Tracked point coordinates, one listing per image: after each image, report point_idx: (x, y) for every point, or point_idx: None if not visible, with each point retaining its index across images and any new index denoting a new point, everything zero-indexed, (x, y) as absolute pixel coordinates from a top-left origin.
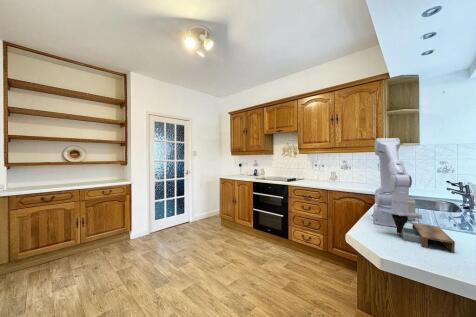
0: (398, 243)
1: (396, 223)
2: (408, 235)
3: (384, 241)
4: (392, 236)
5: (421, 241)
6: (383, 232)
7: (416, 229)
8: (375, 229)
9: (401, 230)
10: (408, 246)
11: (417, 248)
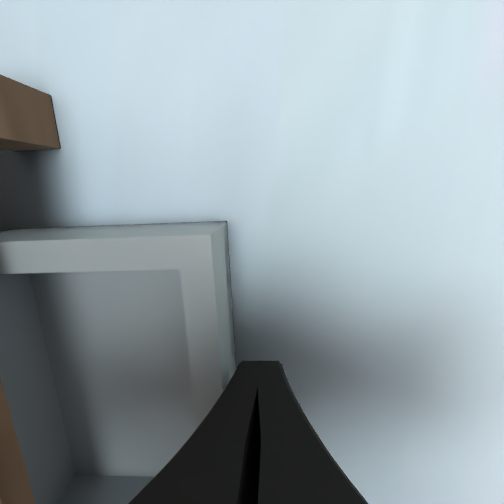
0: (296, 50)
1: (331, 489)
2: (150, 237)
3: (474, 3)
4: (335, 298)
5: (10, 133)
6: (418, 387)
7: (24, 489)
8: (496, 446)
9: (231, 383)
10: (189, 7)
11: (96, 3)
